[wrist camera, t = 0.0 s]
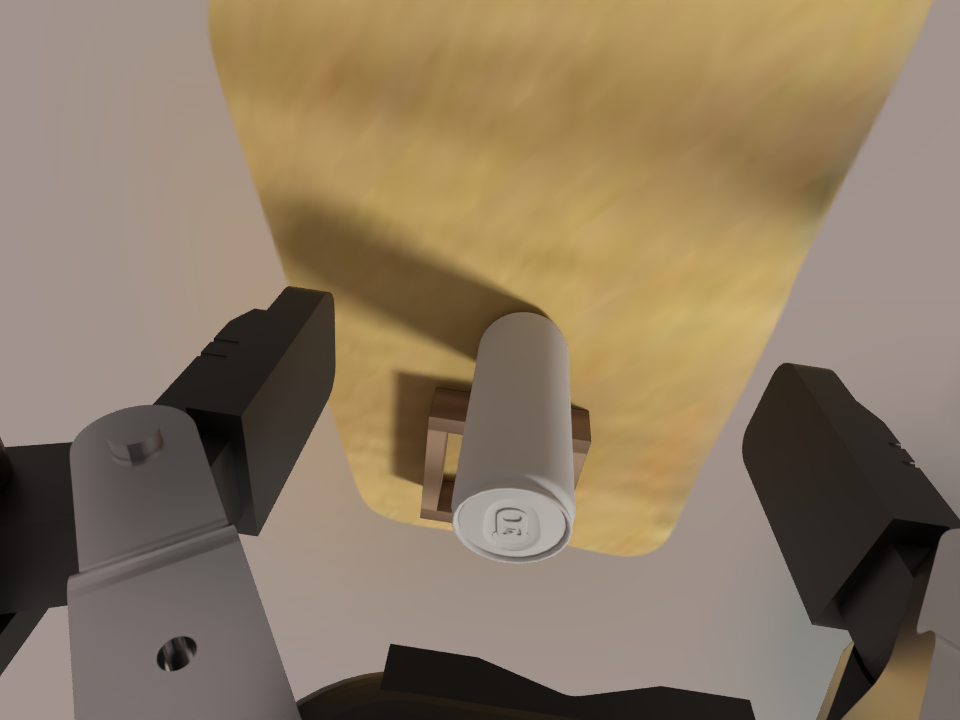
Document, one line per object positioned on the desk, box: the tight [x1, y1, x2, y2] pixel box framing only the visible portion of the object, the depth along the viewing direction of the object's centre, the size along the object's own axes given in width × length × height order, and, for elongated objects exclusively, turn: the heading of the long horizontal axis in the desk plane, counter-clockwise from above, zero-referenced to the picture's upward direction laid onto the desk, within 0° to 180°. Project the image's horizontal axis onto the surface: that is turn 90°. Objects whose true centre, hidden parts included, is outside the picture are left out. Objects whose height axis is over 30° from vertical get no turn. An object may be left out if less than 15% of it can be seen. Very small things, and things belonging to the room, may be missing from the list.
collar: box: [420, 388, 591, 523], centre depth 35 cm, size 9×9×3 cm
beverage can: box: [451, 312, 575, 563], centre depth 27 cm, size 5×5×12 cm
